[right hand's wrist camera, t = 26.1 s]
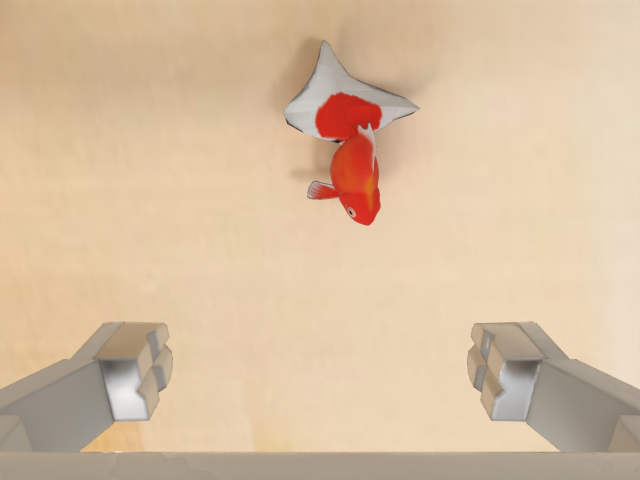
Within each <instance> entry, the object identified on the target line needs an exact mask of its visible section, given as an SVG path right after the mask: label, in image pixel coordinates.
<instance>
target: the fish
mask: <svg viewBox="0 0 640 480" xmlns="http://www.w3.org/2000/svg"><path fill="white" fill-rule="evenodd" d="M419 109H420V108H419V107H417V106H416V105H415V104H413V103H412V102H410V101H409V100H407V99H406V98H404V97H401V96H399V95H396V94H393V93H390V92H388V91H385V90H382V89H380V88H377V87H374V86H371V85H368V84H366V83H363V82H361V81H359V80H357V79H355V78H353V77H351V76H350V75H349V74H348V73H347V71H346V70H345V69H344V67H343V66H342V65H341V63H340V62H339V61H338V59H337V58H336V56H335V54H334V52H333V50H332V48H331V46H330V45H329V43H327V42H326V41H325V40H323V42H322V45H321V48H320V52H319V57H318V62H317V66H316V68H315V70H314V72H313V74H312V76H311V78H310V79H309V81H308V82H307V84H306V85H305V86H304V88H303V89H302V91H301V92H300V93H299V94H298V95H297V96H296V97H295V98H294V99H293V100H292V101H291V102H290V103H289V105H288V106H287V108H286V109H285V111H284V116H285V119H286V121H287V124H289V125H291V126H292V127H294V128H296V129H298V130H299V131H301V132H303V133H306V134H308V135H311V136H313V137H317V138H320V139H324V140H328V141H332V142H336V143H339V144H340V148H339V149H338V150H337V152H336V153H335V155H334V157H333V159H332V163H331V168H330V173H331V179H332V183H333V185H330V184H325V183H321V182H318V181H314V182H312V184H311V185H310V186H309V189H308V195H307V197H308V198H310V199H320V200H323V199H332V198H338V197H339V200H340V202H341V203H342V205H343V206H344V208H345V210H346V211H347V213H348V214H349V216H350V217H351V218H352V219H353V220H354V221H356V222H358V223H360V224H363V225H370V224H371V223H372V222H373V221H374V219H375V217H376V214H377V213H378V211H379V210H380V207H381V204H380V193H379V189H378V187H377V186H378V178H379V171H378V164H377V160H376V157H375V152H376V143H375V137H374V134H373V133H375V132H376V131H378V130H379V129H381V128H383V127H384V126H386V125H388V124H389V123H391V122H392V121H393V120H395V119H398V118H402V117H405V116H408V115H411V114H413V113H414V112H416V111H417V110H419Z"/></svg>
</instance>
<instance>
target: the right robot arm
mask: <svg viewBox="0 0 640 480" xmlns="http://www.w3.org/2000/svg"><path fill="white" fill-rule="evenodd" d="M168 338H169V333H168V328H167V325H166V324H165V323H155V322H106V323H103V324H102V325H101V326H100V328H99V329H98V330H97V331H96V332H95V333H94V334H93V335H92V336H91V337H90V338H89V339H88V340H87V342H86V343H85V344H84V345H83V346H82V347H81V348H80V349H79V350H78V351H77V352H76V353H75V354H74V356H73V357H72V358H71V359H63V360H61V361H59V362H57V363H55V364H53V365H51V366H49V367H47V368H44V369H42V370H40V371H38V372H36V373H34V374H32V375H30V376H28V377H25V378H23V379H21V380H19V381H17V382H15V383H13V384H11V385H9V386H6V387H4V388H2V389H0V480H640V389H638V388H635V387H633V386H631V385H629V384H627V383H625V382H623V381H621V380H619V379H617V378H614V377H612V376H610V375H608V374H606V373H604V372H602V371H600V370H598V369H596V368H593V367H591V366H589V365H587V364H585V363H583V362H581V361H579V360H577V359H569V358H568V357H567V356H566V354H565V353H564V352H563V351H562V350H561V349H560V348H559V347H558V346H557V345H556V344H555V343H554V342H553V340H552V339H551V338H550V337H549V336H548V335H547V334H546V333H545V332H544V331H543V330H542V329H541V328H540V326H539V325H538V324H537V323H534V322H509V323H475V324H474V326H473V328H472V332H471V338H472V340H473V341H474V343H475V345H474V346H473V347H472V348H471V349H470V350H469V351H468V358H467V367H468V374H469V377H470V381H471V383H472V385H473V387H474V388H476V389H477V390H478V391H480V392H481V393H482V394H481V402H482V404H483V406H484V408H485V410H486V412H487V414H488V416H489V418H490V420H491V421H522V422H526V423H527V424H528V425H529V426H530V427H532V428H533V429H534V430H535V431H536V432H538V433H539V434H540V435H541V436H543V437H544V438H545V439H546V440H547V441H549V442H550V443H551V444H552V445H554V446H555V447H556V448H557V449H559V450H560V451H561V452H79V451H80V450H82V449H83V448H84V447H85V446H87V445H88V444H89V443H90V442H91V441H93V440H94V439H95V438H96V437H98V436H99V435H100V434H101V433H103V432H104V431H105V430H106V429H107V428H109V427H110V426H111V425H112V424H113V423H114V422H117V421H149V420H150V418H151V416H152V414H153V412H154V410H155V408H156V406H157V404H158V402H159V394H158V393H159V392H160V391H162V390H163V389H164V388H166V387H167V385H168V383H169V380H170V378H171V373H172V369H173V357H172V351H171V350H170V349H169V348H168V347H167V346H166V345H165V343H166V341H167V340H168Z"/></svg>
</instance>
